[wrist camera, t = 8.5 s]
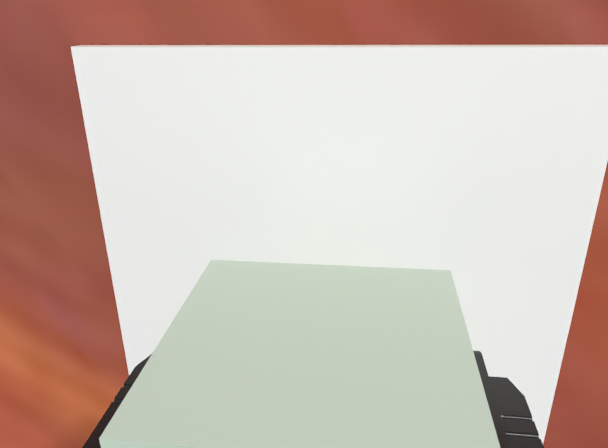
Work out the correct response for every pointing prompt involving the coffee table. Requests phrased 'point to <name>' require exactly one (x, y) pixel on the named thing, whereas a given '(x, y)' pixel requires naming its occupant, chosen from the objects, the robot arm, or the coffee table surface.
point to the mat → (355, 176)
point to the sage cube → (310, 364)
